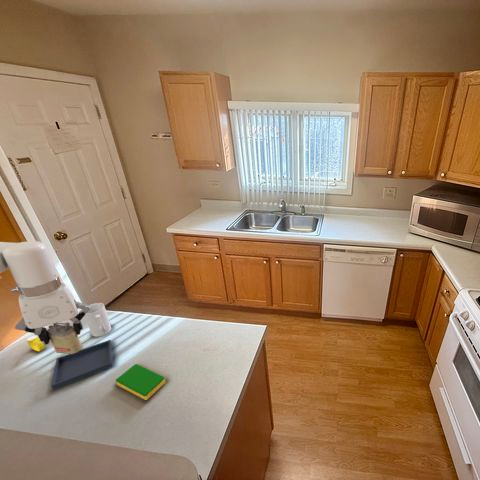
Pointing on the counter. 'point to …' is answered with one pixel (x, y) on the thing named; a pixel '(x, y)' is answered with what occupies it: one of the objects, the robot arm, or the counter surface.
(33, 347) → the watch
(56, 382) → the tray
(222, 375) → the counter surface
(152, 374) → the dish sponge
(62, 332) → the lighter
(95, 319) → the mug
